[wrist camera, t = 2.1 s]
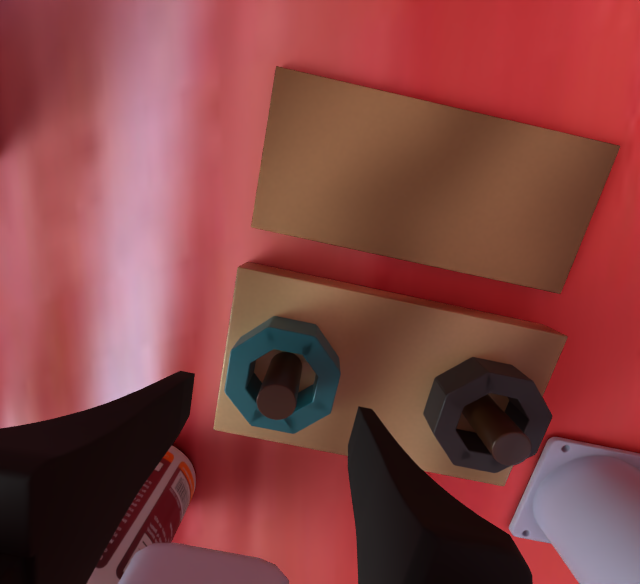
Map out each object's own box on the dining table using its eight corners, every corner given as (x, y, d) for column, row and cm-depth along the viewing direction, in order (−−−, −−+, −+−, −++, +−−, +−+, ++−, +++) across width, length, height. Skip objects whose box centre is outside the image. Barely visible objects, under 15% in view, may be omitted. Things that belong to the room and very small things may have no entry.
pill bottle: (93, 472, 21) (-142, 726, 11) (146, 417, 20) (-55, 639, 10) (163, 523, 22) (12, 805, 12) (217, 474, 21) (107, 733, 10)
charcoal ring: (541, 370, 17) (566, 387, 15) (505, 454, 18) (525, 479, 16) (442, 350, 17) (456, 365, 15) (414, 436, 18) (423, 460, 16)
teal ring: (346, 330, 17) (348, 343, 15) (324, 418, 18) (324, 440, 16) (244, 309, 16) (234, 319, 15) (229, 400, 18) (219, 420, 16)
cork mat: (614, 147, 16) (621, 145, 16) (555, 292, 18) (560, 293, 17) (277, 69, 16) (276, 65, 15) (252, 227, 17) (250, 227, 17)
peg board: (543, 324, 18) (632, 367, 13) (487, 461, 21) (544, 546, 15) (247, 261, 18) (213, 278, 12) (223, 410, 20) (186, 478, 15)
